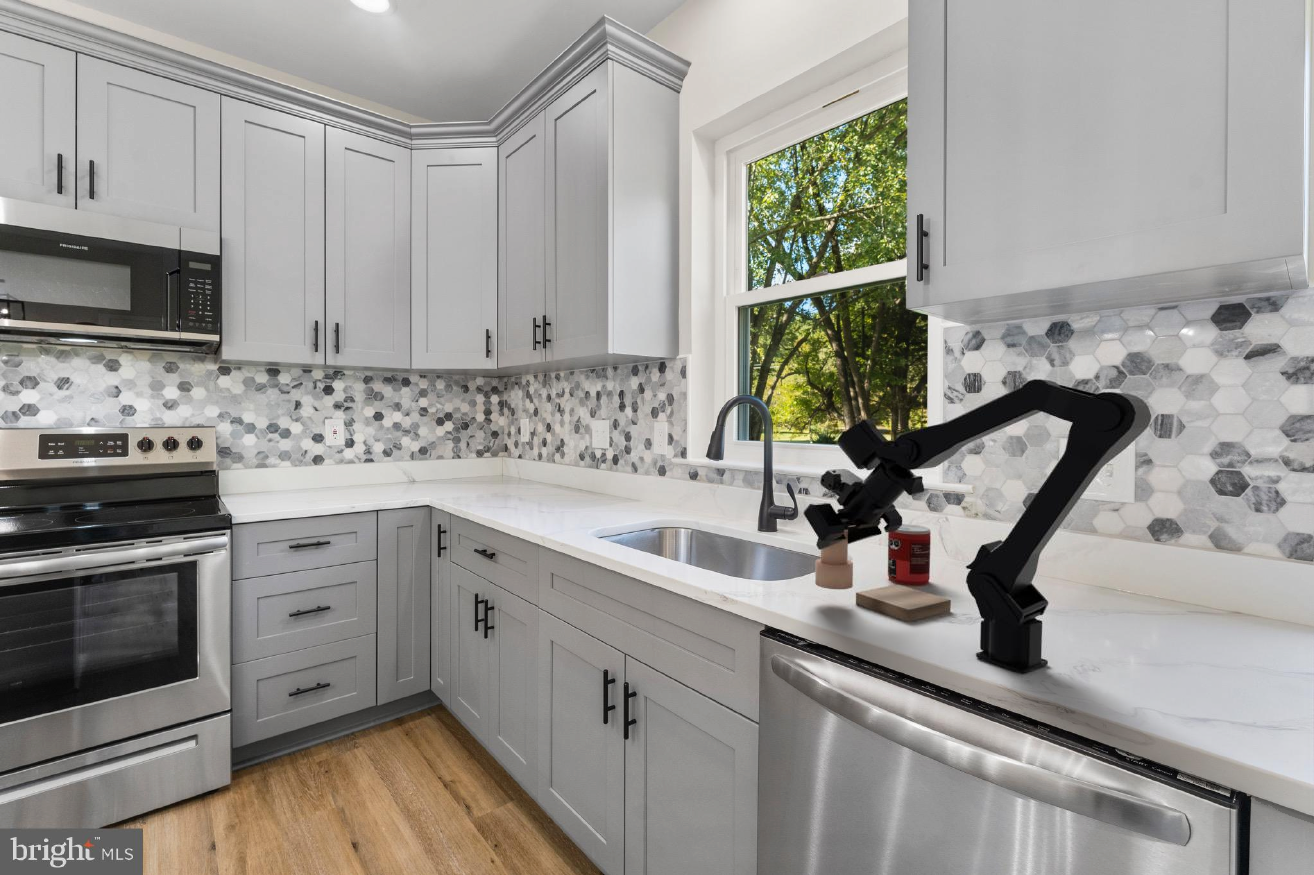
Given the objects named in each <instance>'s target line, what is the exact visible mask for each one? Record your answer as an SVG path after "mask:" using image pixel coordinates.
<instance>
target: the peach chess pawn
mask: <svg viewBox="0 0 1314 875" xmlns="http://www.w3.org/2000/svg"><path fill="white" fill-rule="evenodd" d="M843 534H844V535H845V537H846V538H847V539H845V540H843V541H841V542H838V543H836V544H833V545H831V546H829V547H826V548H823V549H821V550H820V558H818V559H815V562H814V563H815V568H814V570H815V571H814V575H815V577H814V578H815V579H814V583H815V585H816V586H817V587H820V588H822V589H829V590H848V589H852V588H853V586H854V582H853V581H854V562H853V561H851V560H848V558H849V556H848V555H849V552H848V550H849V547H848V546H849V544H848V530H847V531H845V532H844V533H843Z"/></svg>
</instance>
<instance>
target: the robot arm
mask: <svg viewBox="0 0 1314 875" xmlns="http://www.w3.org/2000/svg"><path fill="white" fill-rule="evenodd" d="M1041 412H1043V413H1045V414H1047V415H1050V416H1052V417H1055V418H1057V419H1060V420H1063V421H1067V422H1069V423H1071V425H1070V427H1069V430H1068V435H1067V440H1066V444H1065V450H1064V452H1063V454H1062V456H1061V458H1060V459H1059V460H1058V462H1057V463H1056V465H1055V466H1054V468H1053V469H1052V470H1051V472H1050V473H1049V475H1048V477H1047V478H1046V479H1045V480H1044V482H1043V484H1042V485H1041V486H1040V488H1039V489H1038V491H1037V493H1036V494H1035V496H1034V497H1033V499H1032V500H1031V501H1030V502H1029V504H1028V506H1027V507H1026V509H1025V510H1024V512H1023V513H1022V514H1021V516H1020V517H1019V519H1018V520H1017V522H1016V524H1015V525H1014V526H1013V528H1012V529H1011V531H1010V532H1009V533H1008V534H1007V536H1006V538H1005V539H1004V540H1003V541H1002V540H1001V539H998V540H996V541H991V542H987V543H984V544H982V545H980V547H979V548H978V550H977V553H976V556H975V558H974V559H973V561H971V563H969V564H967V565H966V566H965V569H967V570H969V571H968V572H967V575H966V579H965V583H966V585H967V589H968V591H969V593H970V595H971V596H972V597H973V599H974V600H975V603H976V606H977V609H978V612H979V615H980V618H981V619H982V620H981V621H980V629H979V630H980V638H979V640H980V641H979V649H980V650H981V651H979V652H976V653H975V657H976V658H977V659H981V660H983V661H985V662H989V663H992V664H994V665H996V666H1000V667H1002V668H1005V669H1008V670H1011V671H1012V672H1013V671H1014V672H1017V673H1018V674H1026V673H1028V672H1032V671H1034V670H1036V669H1039V668H1041V667H1044V666H1047V665H1048V664H1049V660H1048V659H1045V658H1042V651H1043V650H1042V648H1043V647H1042V644H1043V621H1042V620H1040V619H1037V617H1039V616H1043V615H1044V614H1045V611H1046V610H1047V608H1048V606H1049V601H1048V600H1047V599H1046V597H1045V596H1044V595H1043V594H1042V593H1041V592H1040V591H1039V589H1037V588H1036V586H1035V585H1034V584H1033V579H1034V578H1035V576H1036V573H1037V571H1038V570H1037V569H1038V565H1039V561H1040V560H1039V559H1040V556H1041V553H1042V552H1043V550H1044V549H1045V547H1046V546H1047V545H1048V543H1049V542H1050V540H1051V539H1052V538H1053V536H1054V535H1055V533H1056V532H1057V530H1059V528H1060V526H1061V525H1062V524H1063V522H1064V521H1065V520H1066V518H1067V516H1068V515H1069V514H1070V513H1071V511H1072V510H1073V508H1074V507H1075V506H1076V504H1077V503H1078V502H1079V500H1080V499H1081V498H1082V496H1083V494H1084V493H1085V492H1086V490H1087V489H1088V488H1089V486H1090V484H1091V483H1092V482H1093V480H1094V479H1095V478H1096V477H1097V475H1098V474H1099V472H1101V470H1102V469H1103V467H1104V466H1106V465H1107V464H1109V463H1110V462H1111V461H1112V460H1113V459H1114V458H1116V457H1117V456H1118V455H1119V454H1121V453H1123V451H1124V450H1126V449H1127V448H1128V447H1129V446H1131V445H1132V443H1134V441H1135V440H1137V438H1139V437H1140V436H1141V435H1142V434H1143V433H1144V432H1145V431H1146V430H1147V429H1148V427H1149V426H1150V423H1151V420H1152V414H1151V411H1150V408H1149V405H1148V404H1147V403H1146V402H1145V401H1144V399H1142V398H1140V397H1139V396H1137V395H1133V394H1132V393H1131V394H1130V393H1127V392H1126V393H1125V392H1115V391H1103V392H1098V393H1096V392H1090V391H1087V390H1083V389H1078V388H1075V387H1070V386H1066V385H1062V384H1059V383H1057V382H1056V381H1053V380H1048V379H1038V378H1037V379H1036V378H1034V379H1030V380H1027V381H1025V382H1024V383H1023V384H1022V385H1021V386H1019V387H1017V388H1015V389H1012V390H1011V391H1009V392H1006V393H1004V394H1003V395H1001V396H998V397H996V398H994V399H992V400H990V401H988V402H986V403H984V404H982V405H980V406H977V407H975V408H973V409H971V410H969V411H966V412H964V413H963V414H961V415H958V416H957V417H954V418H952V419H950V420H948V421H945V422H942V423H938V424H935V425H934V424H933V425H929V426H924V427H919V428H916V429H913V430H908V431H906V432H903V433H900V434H898V435H897V436H896V438H894V439H891V440H889V439H887V438H886V437H885V435H883V433H882V432H881V431H880V430H879V429H878V428H877V426H876V424H875V422H873V420H872V419H869V418H865V419H864V418H862V420H861V421H859V423H856V424H855V425H852V426H850V427H849V428H848V429H846V430H843V431H842V433H841V434H840V435H839V436H838V438H837V440H836V444H837V445H838V447H839V448H840V449H841V450H842V451H843V453H844V454H845V455H846V456H847V458H848V459H849V461H851V462H852V463H853V465H854V466H855V467H856V469H857V470H867V471H871V472H870V473H869V474H868V476H866V477H865V479H864V480H863V479H862V478H860V476H858V475H857V474H855V473H854V472H852V471H850V470H848V469H846V468H838V469H837V468H836V469H835V468H834V469H828V470H826V471H825V472H824V474H821V476H820V485H821V487H823V488H824V489H826V490H827V491H828V492H832V494H835V496H837V497H838V498H836V502H837V504H838V505H839V506H840V507H841V506H842V508H837V510H835V509H834V507H833V506H832V504H831V503H830V502H816V503H809V504H808V506H807V507H806V508H805V509H804V511H803V516H804V518H805V519H806V520H807V522H808V523H809V525H810V527H811V528H812V529H813V532H814V533H815V535H816V536H817V541H816V545H815V546H816V547H817V549H818V550H819V551H821V549H823V548H826V547H829V546H831V545H833V544H836V543H838V542H841V541H843V540H845V539H847V538H846V537H845V535H844V534H843V533H844V532H845V531H847V530H848V545H850V544H854V543H857V542H860V541H863V540H866V539H870V538H872V537H873V538H874V537H876V536H879V535H881V534H882V533H883V532H882V530H881V529H880V527H879V526H880V524H882V519H883V521H884V522H885V524H886V525H885V526H884V527H883V529H884V532H885V533H888V532H894V531H897V530H898V529H899V528H900V527H901V526H902V524H903V517H902V515H901V514H900V513H899V511H898V510H897V508H896V506H895V504H894V503H895V502H896V501H897V500H898V498H900V497H901V496H902V495H903V494H904V493H905V492H906V493H907V494H906V495H908V496H913V495H918V494H922V493H925V485H924V483H923V476H922V475H918V476H917V475H916V474H915V473H914V472H912V471H913V470H925V469H932V468H936V467H938V466H940V465H941V464H943V463H945V462H946V461H947V460H949V459H951V458H952V457H953V456H955V455H957V453H958V452H959V451H961V449H962V448H964V447H965V446H967V445H968V444H971V443H972V442H975V441H978V440H980V439H982V438H984V437H986V436H990V435H991V434H994V433H996V432H998V431H1000V430H1003V429H1005V428H1008V427H1009V426H1012V425H1015V424H1017V423H1019V422H1021V421H1023V420H1026V419H1027V418H1028V419H1029V418H1030V417H1032V416H1035V415H1038V414H1039V413H1041Z"/></svg>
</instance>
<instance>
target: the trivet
mask: <svg viewBox="0 0 1314 875" xmlns="http://www.w3.org/2000/svg"><path fill="white" fill-rule="evenodd" d="M951 602H952V600H951V599H950V598H946V597H942V596H938V595H936V594H935V595H934V594H932V593H928V592H924V591H922V590H918V589H914V588H911V587H907V586H905V585H902V584H898V583H896V584H893V585H887V586H883V587H878V588H872V589H868V590H862V591H857V592H856V593H855V604H856V605H859V606H861V607H865V608H868V609H870V610H873V611H876V612H880V613H882V614H886V615H888V616H890V617H894V618H895V619H896V618H897V619H899V620H901V621H905V622H908V623H909V622H912V621H913V622H914V621H918V620H921V619H926V618H930V617H934V616H937V615H942V614H945V613H946V614H947V613H950V612H951V609H952V608H951V605H952V603H951Z"/></svg>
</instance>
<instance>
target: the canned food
mask: <svg viewBox="0 0 1314 875" xmlns="http://www.w3.org/2000/svg"><path fill="white" fill-rule="evenodd" d="M887 533H888V534H887V536H888V537H887V541H888V542H887V576H888V580H889V581H891V582H893V583H896V584H898V585H902V586H905V585H906V586H914V587H915V586H916V587H918V586H926V585H928V584H929V581H930V578H931V577H930V576H931V575H930V574H931V572H930V571H931V541H932V540H931V538H932V537H931V529H930V528H929V527H926V526H924V525H915V524H905V523H904V524H903V523H902V526H901V527H900V528H899V529H898V530H897V531H894V532H887Z"/></svg>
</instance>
